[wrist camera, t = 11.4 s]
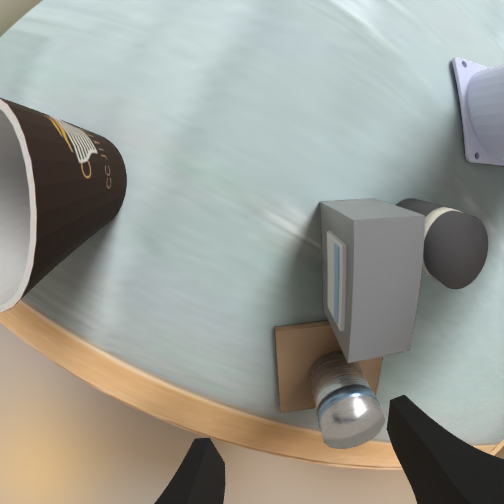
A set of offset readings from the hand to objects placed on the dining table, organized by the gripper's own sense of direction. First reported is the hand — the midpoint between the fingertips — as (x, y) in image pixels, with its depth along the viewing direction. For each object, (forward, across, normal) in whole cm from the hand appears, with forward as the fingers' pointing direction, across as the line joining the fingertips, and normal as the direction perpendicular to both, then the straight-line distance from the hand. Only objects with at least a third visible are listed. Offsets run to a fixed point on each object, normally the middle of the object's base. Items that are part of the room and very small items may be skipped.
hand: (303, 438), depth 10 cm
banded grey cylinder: (+10, -10, -4) cm, 14 cm away
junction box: (+10, -5, -3) cm, 12 cm away
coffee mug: (+10, +10, -14) cm, 20 cm away
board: (+10, -3, +5) cm, 11 cm away
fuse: (+9, -3, +5) cm, 11 cm away
